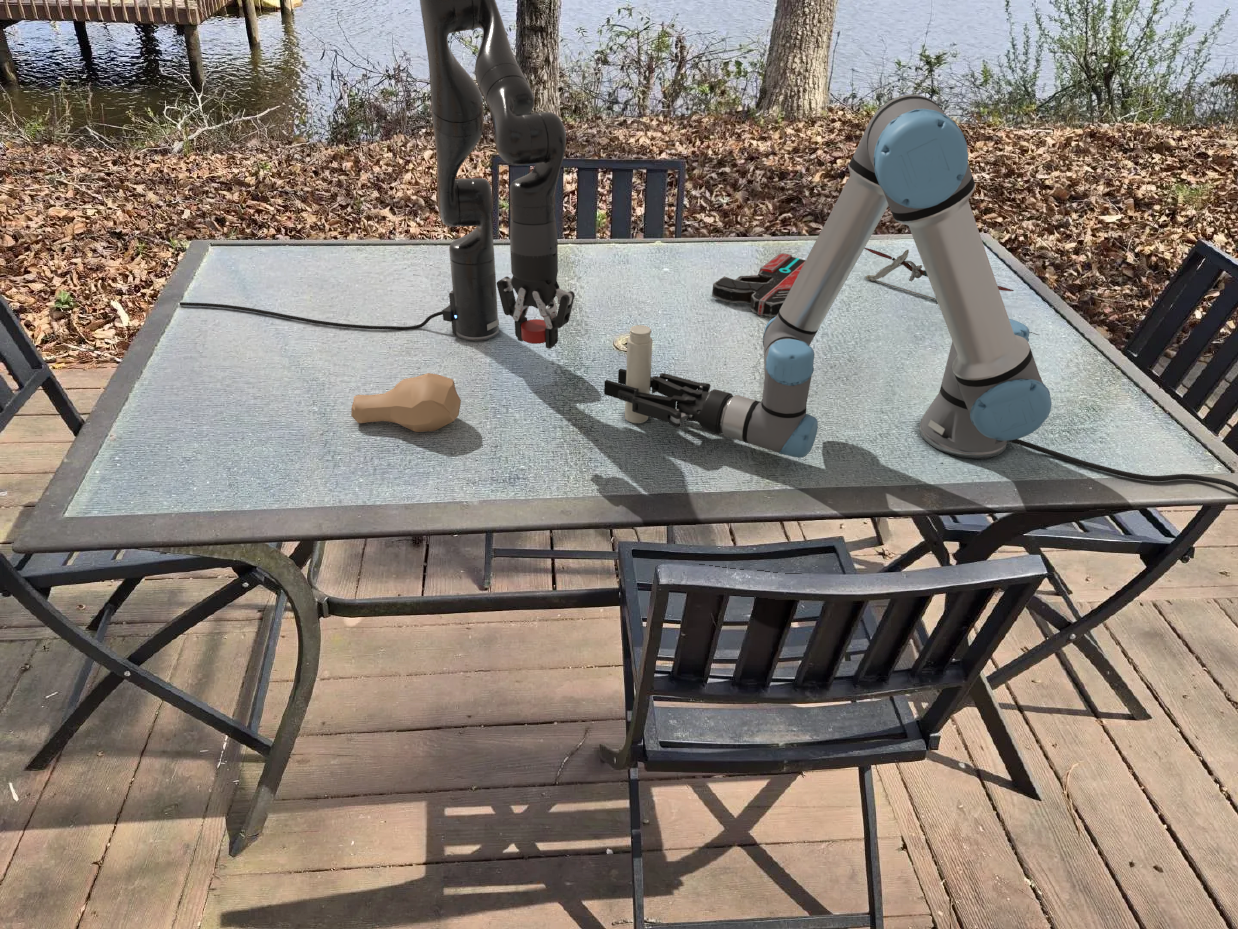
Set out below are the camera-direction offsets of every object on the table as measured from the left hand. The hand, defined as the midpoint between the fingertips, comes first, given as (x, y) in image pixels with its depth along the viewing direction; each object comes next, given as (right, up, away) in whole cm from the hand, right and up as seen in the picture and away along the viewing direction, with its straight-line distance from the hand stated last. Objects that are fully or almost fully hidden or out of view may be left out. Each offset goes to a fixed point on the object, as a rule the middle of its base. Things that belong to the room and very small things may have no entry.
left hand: (536, 342), depth 149 cm
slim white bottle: (+17, -12, +15) cm, 26 cm away
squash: (-25, -13, +11) cm, 30 cm away
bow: (+90, +20, +66) cm, 114 cm away
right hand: (+13, -5, +14) cm, 20 cm away
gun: (+51, +22, +67) cm, 88 cm away
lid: (0, +2, -2) cm, 3 cm away
